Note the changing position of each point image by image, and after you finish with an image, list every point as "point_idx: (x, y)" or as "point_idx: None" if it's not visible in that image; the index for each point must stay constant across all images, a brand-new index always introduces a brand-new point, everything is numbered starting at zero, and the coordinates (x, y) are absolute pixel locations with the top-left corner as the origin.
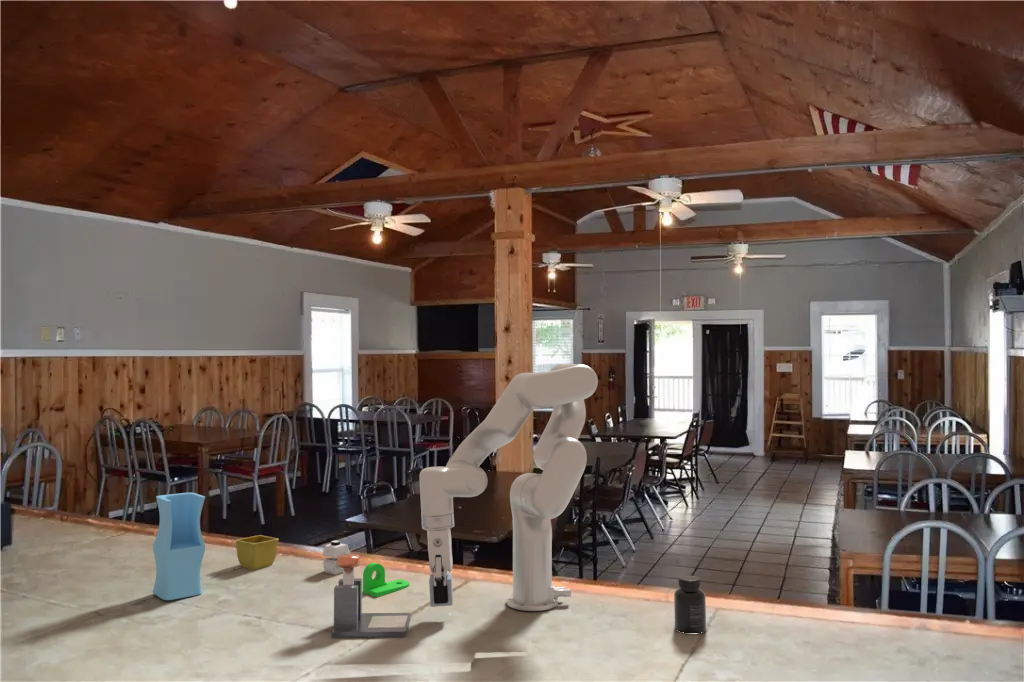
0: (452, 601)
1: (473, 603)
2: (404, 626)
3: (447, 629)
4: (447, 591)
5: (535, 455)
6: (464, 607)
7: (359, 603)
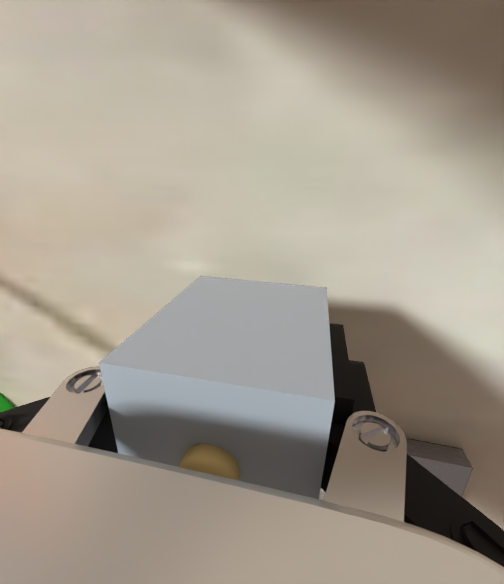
0: (286, 288)
1: (58, 157)
2: None
3: (405, 288)
4: (348, 365)
5: None
6: (112, 200)
7: None
